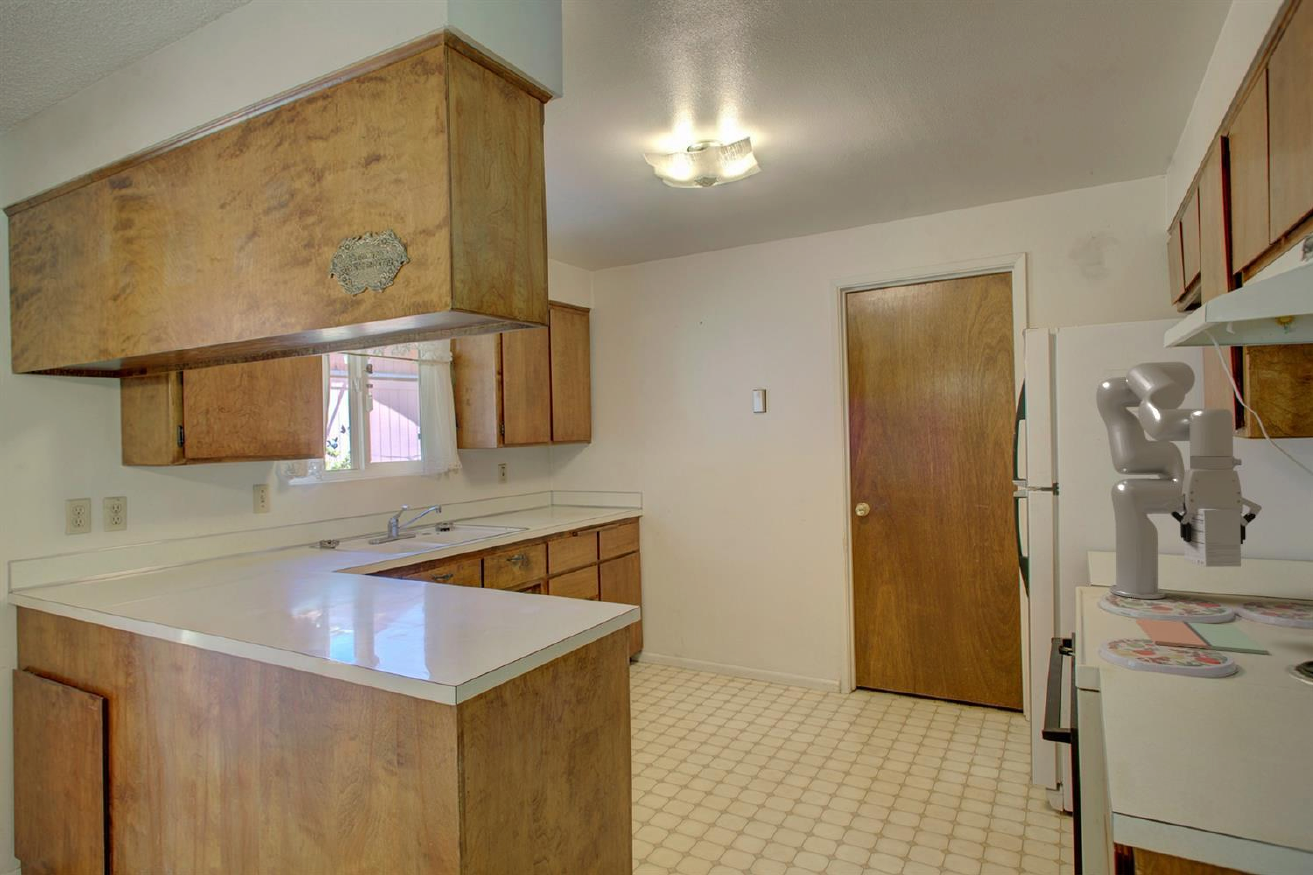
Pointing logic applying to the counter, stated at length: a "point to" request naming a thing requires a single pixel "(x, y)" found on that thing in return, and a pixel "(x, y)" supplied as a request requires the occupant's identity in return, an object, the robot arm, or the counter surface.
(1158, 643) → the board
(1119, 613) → the counter surface
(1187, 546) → the supplement box
